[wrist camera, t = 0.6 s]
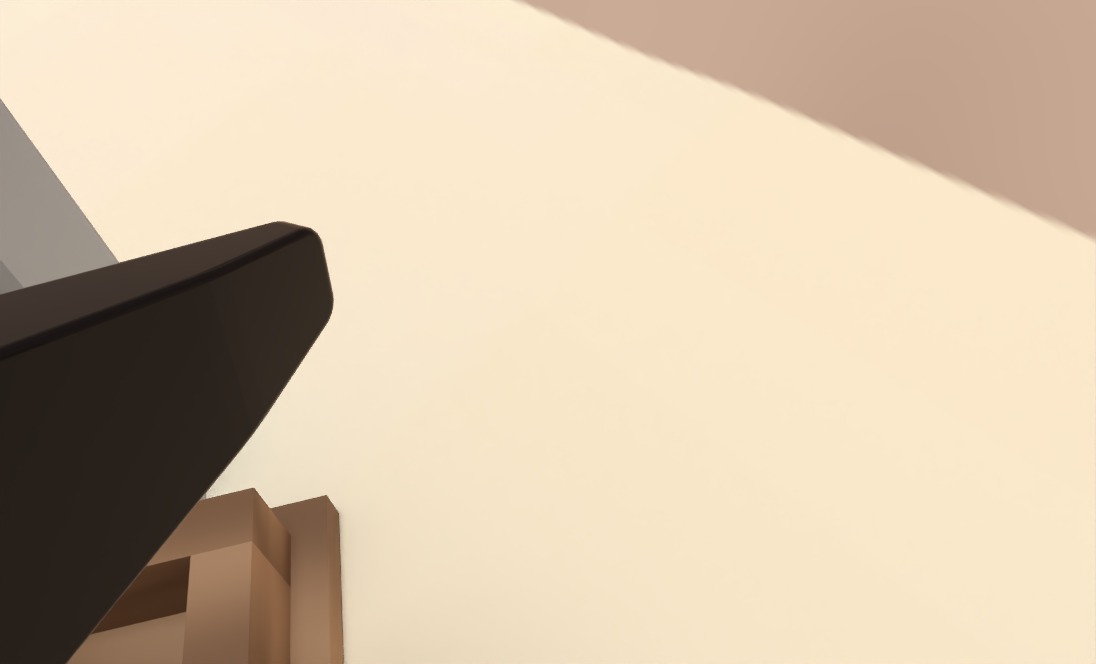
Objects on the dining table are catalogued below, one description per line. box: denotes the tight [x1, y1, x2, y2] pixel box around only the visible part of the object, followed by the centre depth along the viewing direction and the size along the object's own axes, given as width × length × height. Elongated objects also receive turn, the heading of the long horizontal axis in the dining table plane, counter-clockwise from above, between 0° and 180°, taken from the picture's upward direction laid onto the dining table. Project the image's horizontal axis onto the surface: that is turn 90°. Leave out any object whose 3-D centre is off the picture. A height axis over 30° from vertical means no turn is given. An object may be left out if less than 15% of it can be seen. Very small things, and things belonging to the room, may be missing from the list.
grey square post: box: [0, 99, 206, 500], centre depth 26 cm, size 4×4×12 cm
